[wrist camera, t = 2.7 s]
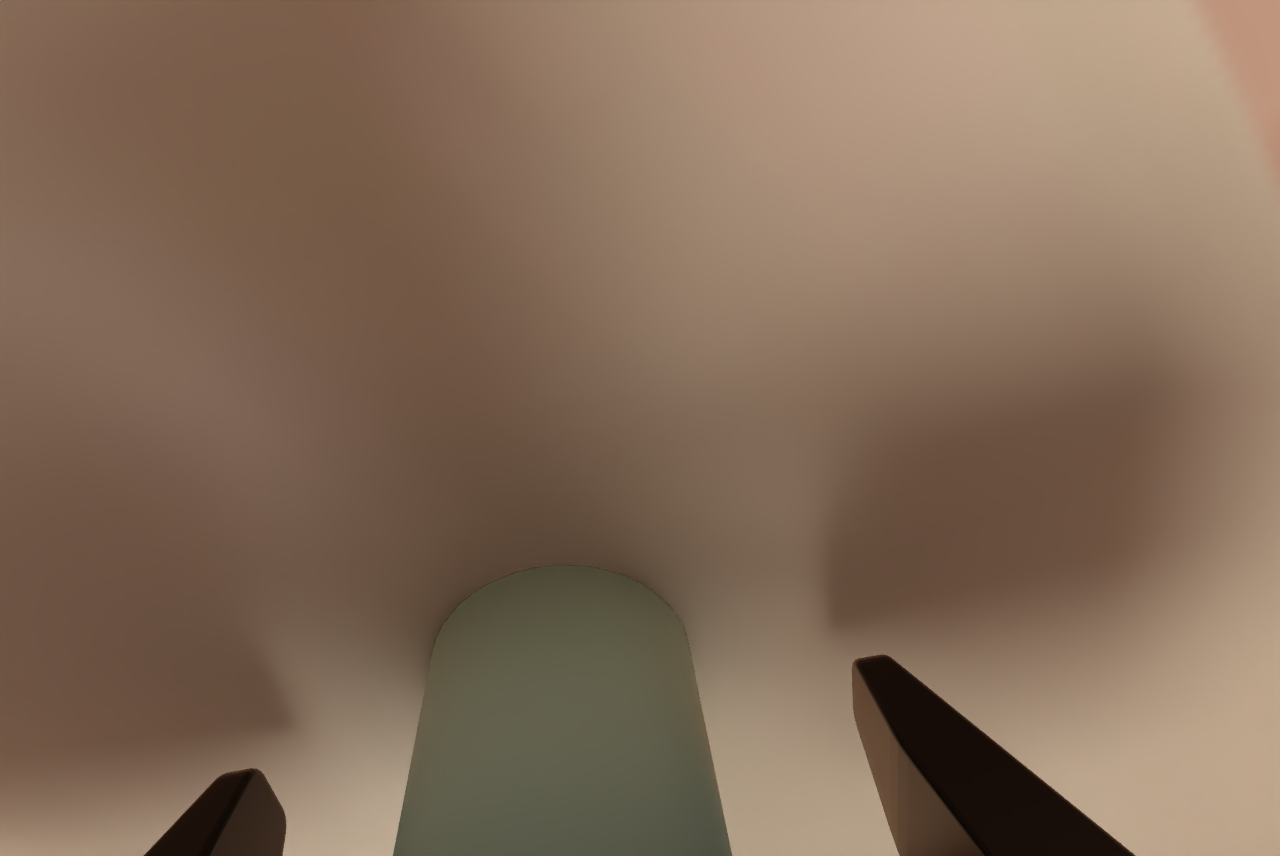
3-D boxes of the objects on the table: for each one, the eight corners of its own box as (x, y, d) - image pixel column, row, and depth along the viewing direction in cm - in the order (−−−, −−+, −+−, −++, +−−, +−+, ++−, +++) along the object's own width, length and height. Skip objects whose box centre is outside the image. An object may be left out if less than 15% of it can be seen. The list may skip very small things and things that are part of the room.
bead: (672, 543, 10) (736, 846, 6) (703, 732, 11) (768, 1058, 8) (398, 591, 10) (307, 924, 6) (468, 775, 11) (428, 1122, 8)
